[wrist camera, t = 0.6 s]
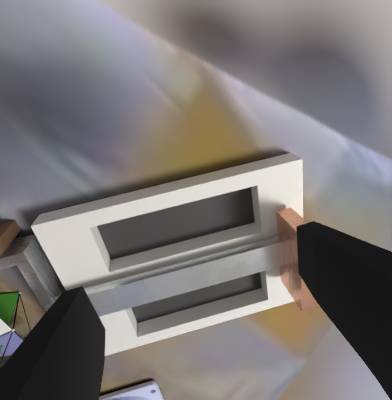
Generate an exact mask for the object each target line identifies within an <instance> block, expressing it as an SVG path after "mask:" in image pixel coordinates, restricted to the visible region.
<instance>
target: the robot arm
mask: <svg viewBox="0 0 392 400" xmlns="http://www.w3.org/2000/svg"><path fill="white" fill-rule="evenodd" d="M296 227H297V250H298V273H299V274H300V276H301V278H302V279H303V281H304V283H305V284H306V286H307V288H308V289H309V291H310V293H311V294H312V296H313V297H314V299H315V300H316V301H317V303H318V304H319V305H320V307H321V308H322V309H323V311H324V312H325V313H326V314H327V316H328V317H329V318H330V319H331V321H332V322H333V323H334V325H335V326H336V327H337V328H338V330H339V331H340V332H341V333H342V335H343V336H344V337H345V338H346V340H347V341H348V342H349V343H350V345H351V346H352V347H353V348H354V350H355V351H356V352H357V353H358V355H359V356H360V357H361V358H362V360H363V361H364V362H365V364H366V365H367V366H368V368H369V369H370V370H371V372H372V373H373V375H374V376H375V377H376V379H377V380H378V381H379V383H380V384H381V386H382V388H383V389H384V391H385V392H386V394H387V395H388V397H389V398H390V400H392V252H391V251H388V250H385V249H383V248H380V247H378V246H375V245H372V244H370V243H367V242H365V241H362V240H360V239H357V238H355V237H352V236H350V235H348V234H345V233H343V232H340V231H338V230H335V229H333V228H330V227H328V226H325V225H322V224H320V223H317V222H314V221H313V222H310V223H306V224H302V225H299V226H296ZM104 360H105V327H104V325H103V324H102V322H101V320H100V318H99V316H98V314H97V312H96V310H95V309H94V307H93V305H92V303H91V301H90V299H89V297H88V295H87V294H86V292H85V290H84V288H83V286H82V287H78V288H74V289H71V290H67V291H64V292H63V293H62V294H61V295H60V296H59V297H58V298H57V300H56V301H55V302H54V303H53V304H52V306H51V307H50V308H49V309H48V311H47V312H46V313H45V314H44V316H43V317H42V318H41V319H40V321H39V322H38V323H37V324H36V326H35V327H34V328H33V329H32V330H31V332H30V333H29V334H28V335H27V337H26V338H25V339H24V340H23V342H22V343H21V344H20V345H19V347H18V348H17V349H16V350H15V351H14V353H13V354H12V355H11V356H10V358H9V359H8V360H7V361H6V362H5V363H4V365H3V366H2V367H1V368H0V400H164V399H163V396H162V394H161V392H160V390H159V387H158V385H157V383H156V382H155V381H149V382H146V383H142V384H139V385H136V386H132V387H129V388H126V389H122V390H119V391H116V392H112V393H109V394H106V395H102V396H99V395H100V389H101V382H102V375H103V368H104Z"/></svg>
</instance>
